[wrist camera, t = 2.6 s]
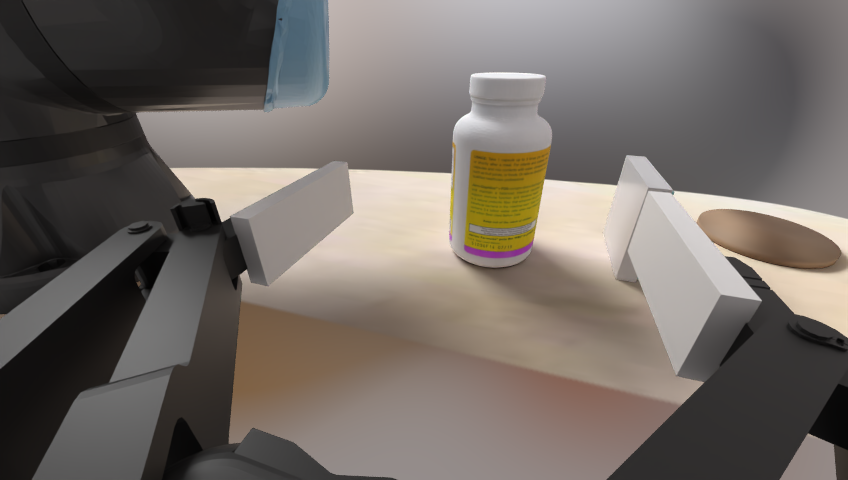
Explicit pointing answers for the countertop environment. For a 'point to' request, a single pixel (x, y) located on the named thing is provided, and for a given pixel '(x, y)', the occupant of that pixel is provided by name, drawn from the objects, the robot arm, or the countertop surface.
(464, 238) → the supplement bottle
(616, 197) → the tile
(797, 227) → the coaster
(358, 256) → the countertop surface
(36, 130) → the robot arm
